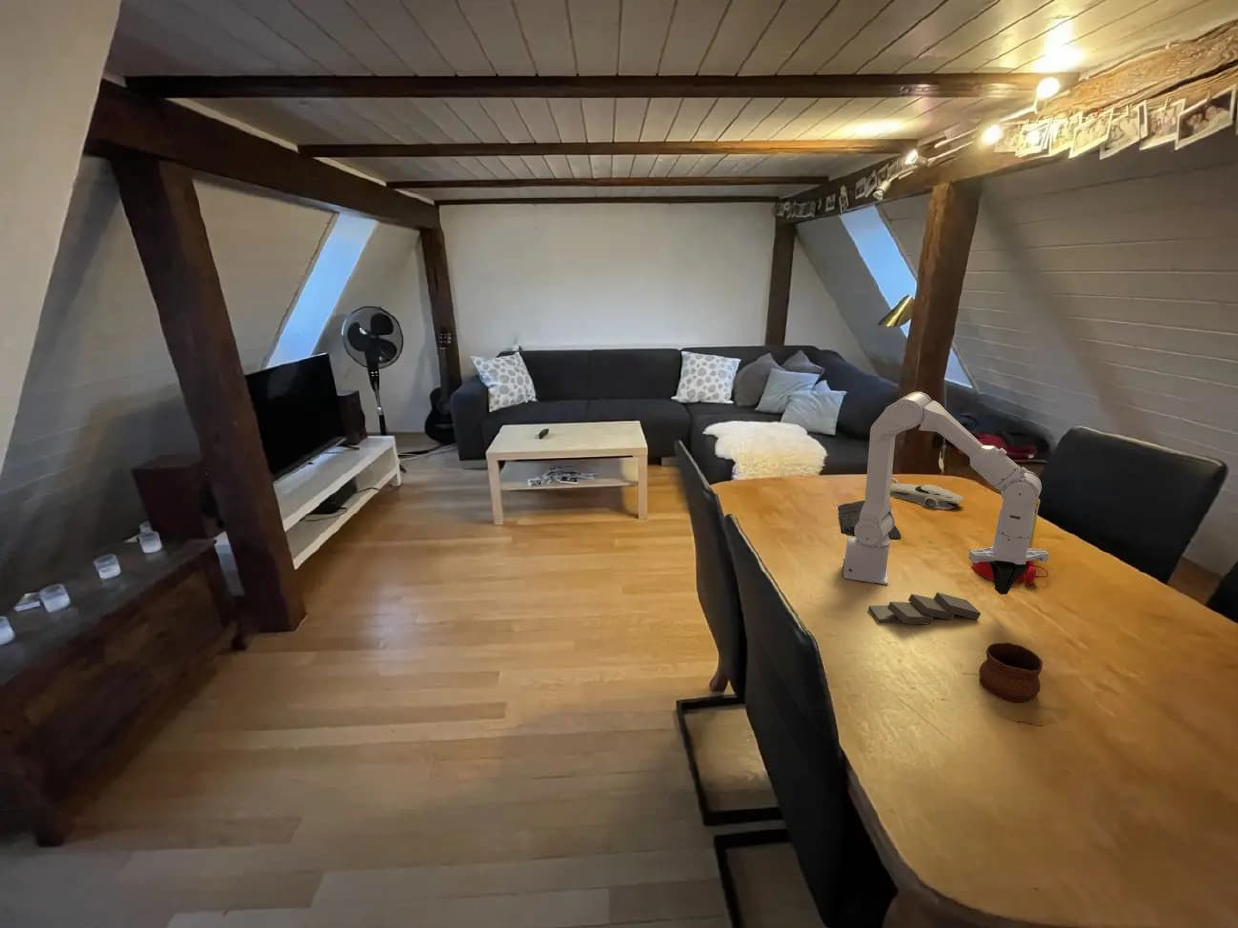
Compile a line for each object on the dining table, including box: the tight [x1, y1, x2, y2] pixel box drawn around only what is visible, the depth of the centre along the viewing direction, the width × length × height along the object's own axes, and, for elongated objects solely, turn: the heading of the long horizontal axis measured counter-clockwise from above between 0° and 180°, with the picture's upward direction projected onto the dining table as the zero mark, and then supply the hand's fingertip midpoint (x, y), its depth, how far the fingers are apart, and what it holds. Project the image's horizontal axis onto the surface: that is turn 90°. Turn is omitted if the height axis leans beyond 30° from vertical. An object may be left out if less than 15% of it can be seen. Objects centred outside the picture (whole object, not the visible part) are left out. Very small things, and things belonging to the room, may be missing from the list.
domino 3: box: [933, 592, 982, 621], centre depth 120 cm, size 2×5×7 cm
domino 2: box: [907, 593, 955, 621], centre depth 119 cm, size 2×5×7 cm
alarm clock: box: [970, 561, 1049, 586], centre depth 134 cm, size 10×6×15 cm
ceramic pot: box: [978, 642, 1044, 727], centre depth 98 cm, size 18×18×7 cm
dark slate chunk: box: [837, 499, 902, 540], centre depth 163 cm, size 15×22×5 cm
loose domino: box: [868, 604, 905, 624], centre depth 120 cm, size 2×5×7 cm
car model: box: [890, 477, 964, 511], centre depth 178 cm, size 11×24×5 cm, turn 44°
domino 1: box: [887, 601, 934, 625], centre depth 118 cm, size 2×5×7 cm
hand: (1000, 591), depth 118 cm, fingers closed
